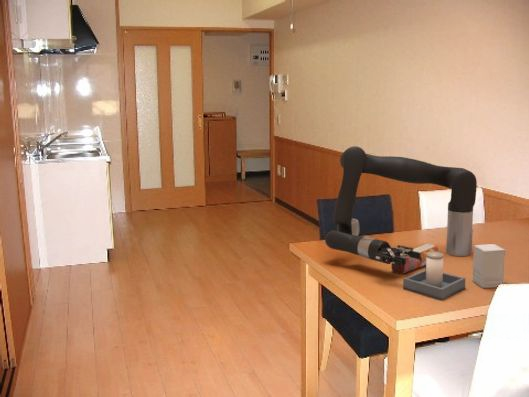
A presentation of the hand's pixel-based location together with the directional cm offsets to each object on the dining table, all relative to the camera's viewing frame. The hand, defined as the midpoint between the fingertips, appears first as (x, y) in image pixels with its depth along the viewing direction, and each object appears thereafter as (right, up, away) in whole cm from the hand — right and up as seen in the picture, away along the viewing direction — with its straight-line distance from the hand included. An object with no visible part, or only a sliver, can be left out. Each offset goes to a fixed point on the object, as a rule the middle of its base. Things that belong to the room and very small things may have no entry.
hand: (412, 258), depth 183 cm
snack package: (+6, -5, +18) cm, 19 cm away
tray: (+6, -9, -4) cm, 12 cm away
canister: (+6, -8, -5) cm, 11 cm away
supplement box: (+24, -8, -2) cm, 26 cm away
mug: (-14, +1, +47) cm, 49 cm away
